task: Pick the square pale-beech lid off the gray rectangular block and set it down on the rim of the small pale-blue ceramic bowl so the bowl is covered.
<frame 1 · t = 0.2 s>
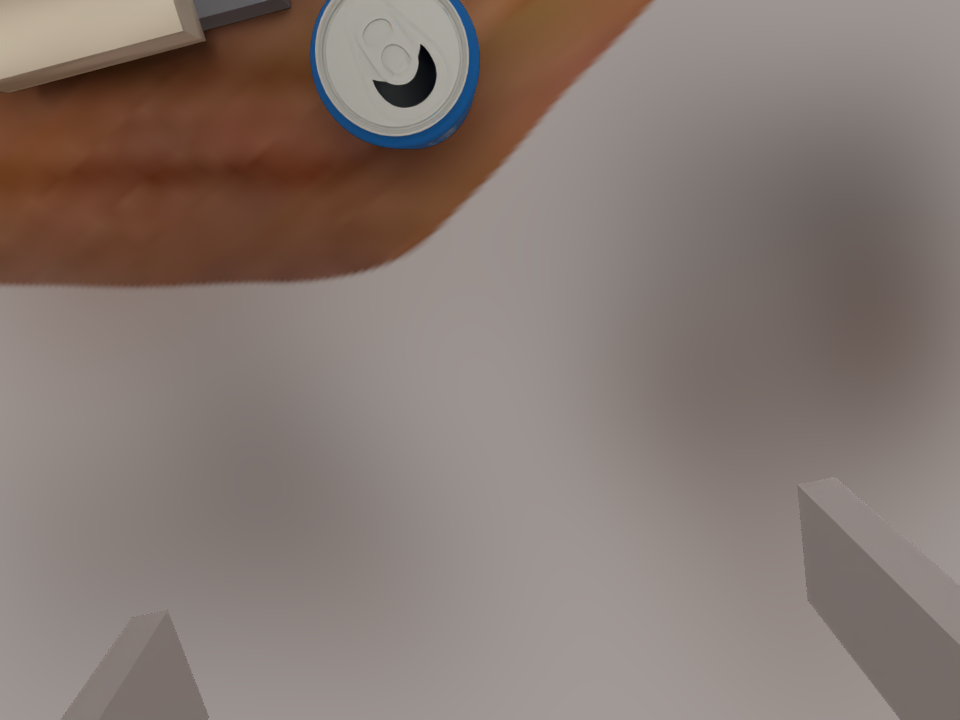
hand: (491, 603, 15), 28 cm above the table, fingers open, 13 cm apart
beverage can: (412, 85, 38), on the table
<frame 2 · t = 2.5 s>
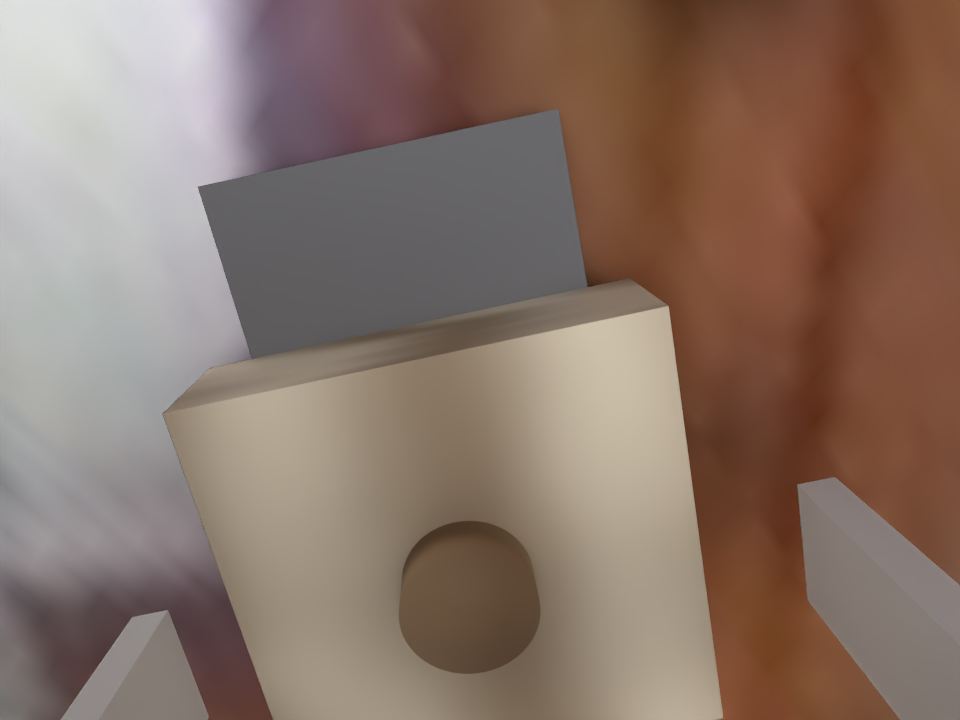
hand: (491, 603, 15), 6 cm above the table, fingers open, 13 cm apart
gray rectangular block: (461, 468, 21), on the table
lid: (464, 511, 18), point 2 cm above the table, touching gray rectangular block
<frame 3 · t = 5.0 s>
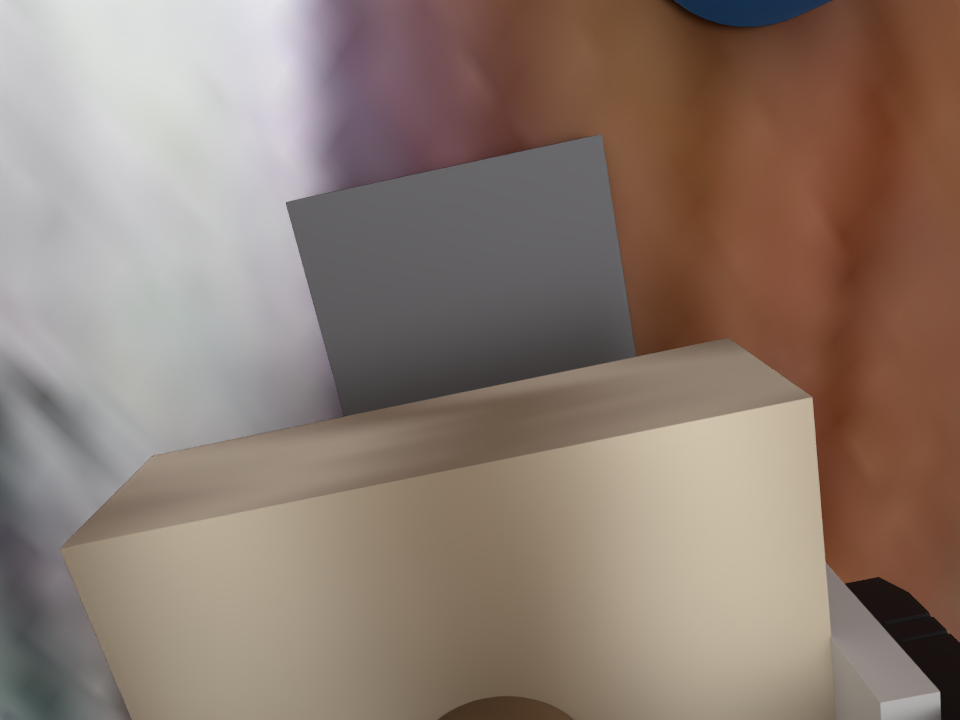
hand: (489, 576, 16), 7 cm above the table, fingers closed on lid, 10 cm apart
gray rectangular block: (508, 458, 23), on the table
lid: (494, 641, 14), point 9 cm above the table, touching gripper
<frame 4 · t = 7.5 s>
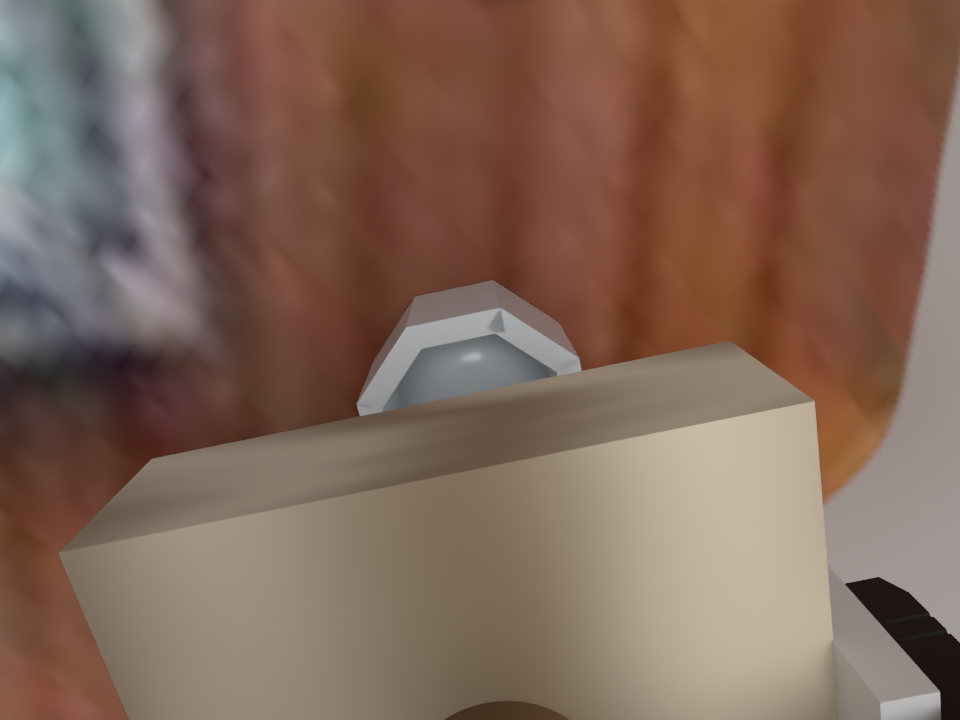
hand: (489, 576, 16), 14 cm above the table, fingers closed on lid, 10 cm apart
lid: (495, 645, 14), point 16 cm above the table, touching gripper
bowl: (473, 378, 29), on the table
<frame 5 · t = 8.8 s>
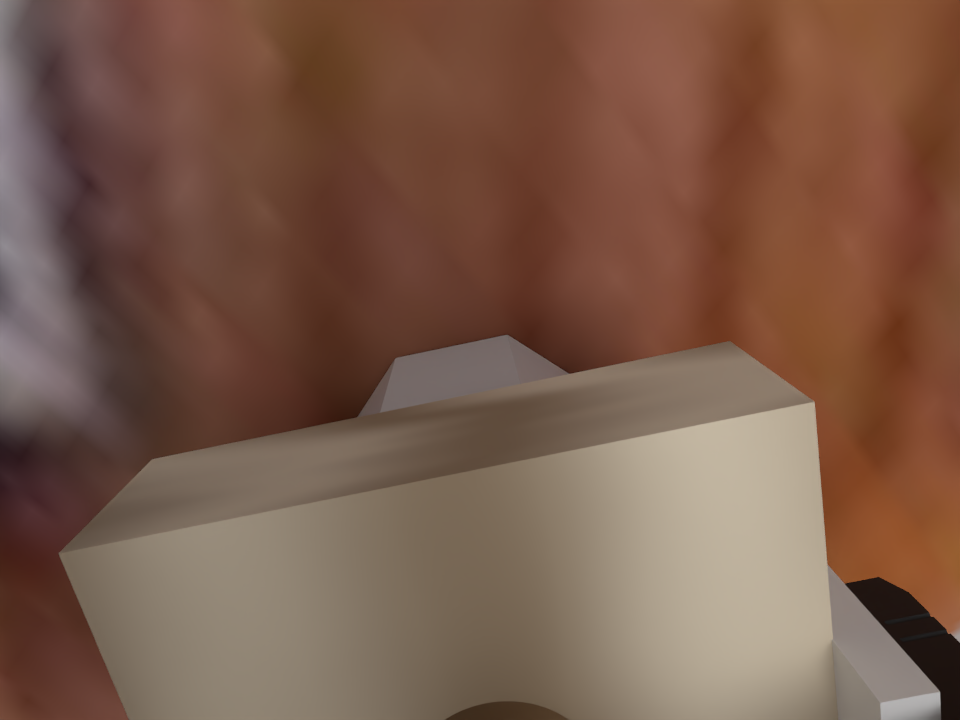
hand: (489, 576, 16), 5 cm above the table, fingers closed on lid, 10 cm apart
lid: (495, 645, 14), point 7 cm above the table, touching gripper
bowl: (479, 469, 21), on the table
when the fingers open (4 cm above the table, at t = 10.1 s): lid stays where it is, resting on bowl.
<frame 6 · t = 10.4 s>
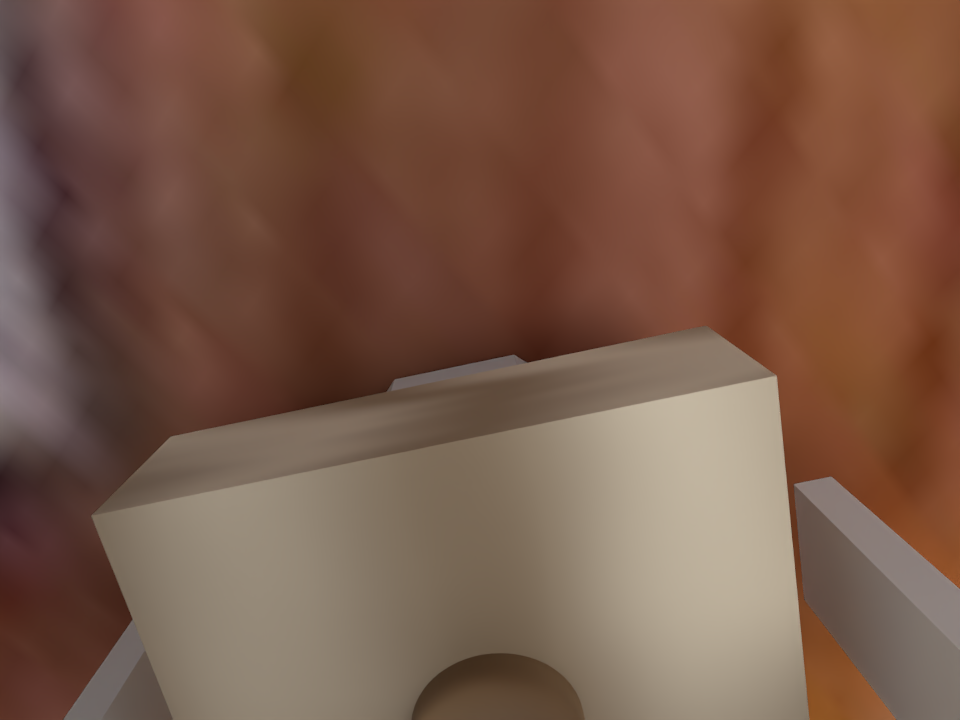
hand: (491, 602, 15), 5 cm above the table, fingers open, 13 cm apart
lid: (490, 612, 15), point 5 cm above the table, touching bowl
bowl: (483, 497, 19), on the table
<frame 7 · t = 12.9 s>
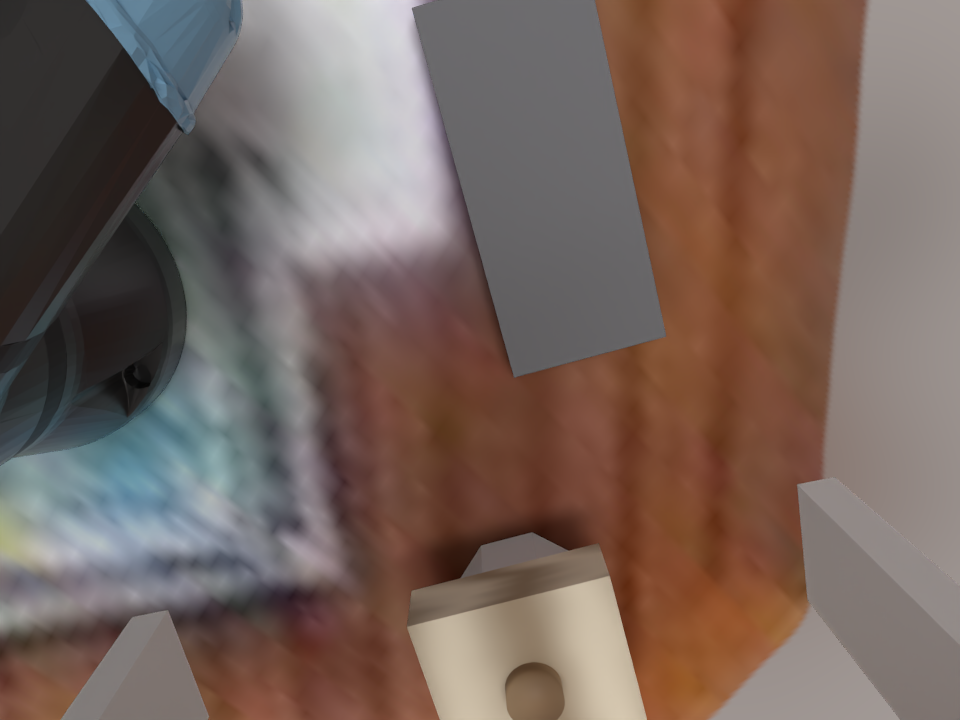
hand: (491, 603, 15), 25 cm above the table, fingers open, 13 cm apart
gray rectangular block: (541, 180, 37), on the table
lid: (528, 646, 39), point 5 cm above the table, touching bowl
bowl: (522, 592, 43), on the table
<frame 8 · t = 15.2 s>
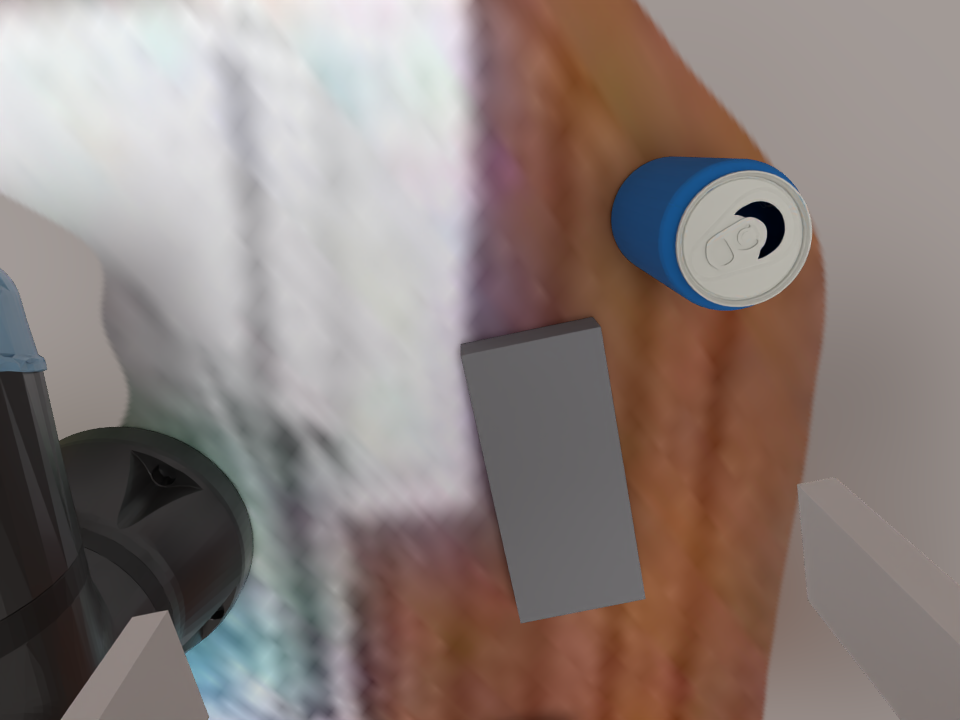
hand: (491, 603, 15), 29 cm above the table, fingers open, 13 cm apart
gray rectangular block: (553, 466, 45), on the table
beverage can: (663, 214, 41), on the table
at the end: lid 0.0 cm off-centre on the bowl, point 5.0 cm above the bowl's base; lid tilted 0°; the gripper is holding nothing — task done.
